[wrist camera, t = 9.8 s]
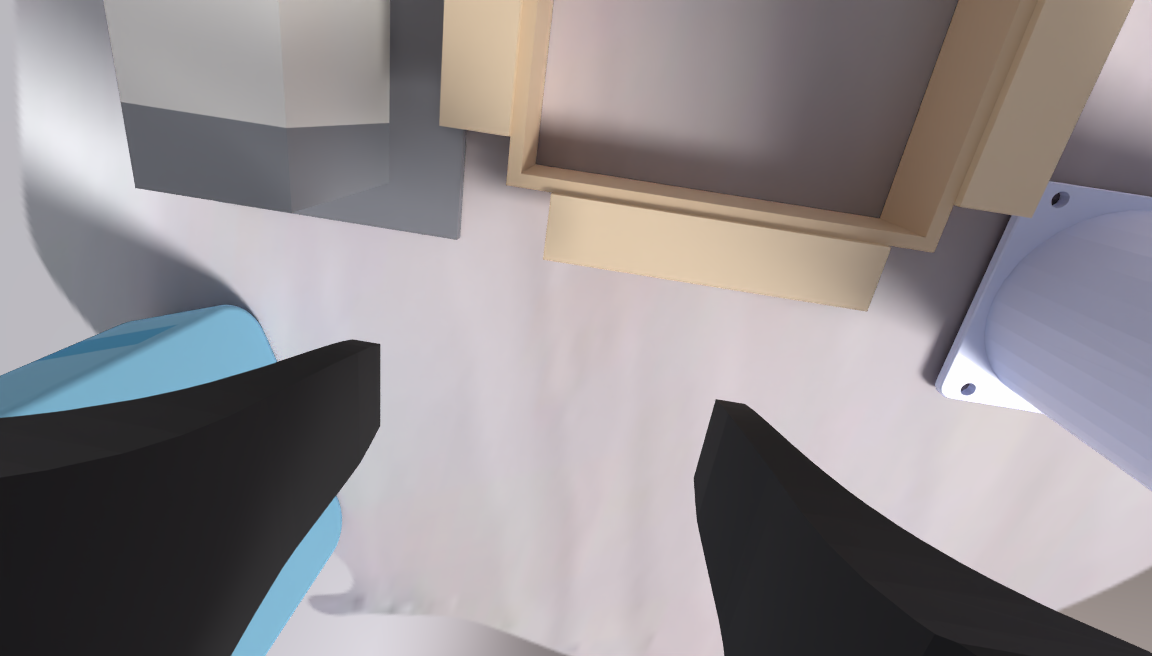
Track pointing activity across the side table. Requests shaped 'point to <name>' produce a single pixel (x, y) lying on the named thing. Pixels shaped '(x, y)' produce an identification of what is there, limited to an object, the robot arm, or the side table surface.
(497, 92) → the carton
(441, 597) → the side table surface
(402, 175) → the mat
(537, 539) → the side table surface
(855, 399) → the side table surface
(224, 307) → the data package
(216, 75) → the capped box
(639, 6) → the side table surface
